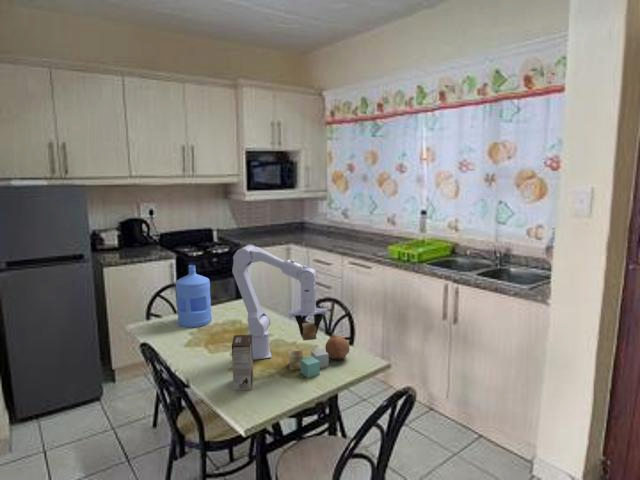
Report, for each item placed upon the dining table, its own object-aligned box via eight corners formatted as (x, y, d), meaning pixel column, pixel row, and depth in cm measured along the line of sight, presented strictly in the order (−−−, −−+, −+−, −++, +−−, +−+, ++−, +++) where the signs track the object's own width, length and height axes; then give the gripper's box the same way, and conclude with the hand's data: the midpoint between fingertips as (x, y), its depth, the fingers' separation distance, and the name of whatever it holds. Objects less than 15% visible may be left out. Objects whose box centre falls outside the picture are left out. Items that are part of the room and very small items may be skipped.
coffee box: (235, 377, 156) (233, 334, 153) (253, 377, 156) (252, 334, 154) (232, 390, 147) (230, 345, 144) (252, 389, 147) (250, 344, 145)
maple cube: (289, 369, 162) (289, 356, 161) (289, 363, 167) (289, 351, 166) (302, 369, 163) (302, 356, 162) (302, 363, 167) (302, 350, 167)
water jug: (186, 316, 220) (183, 261, 216) (216, 317, 218) (214, 262, 213) (172, 327, 205) (168, 269, 200) (204, 329, 203) (201, 270, 198)
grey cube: (316, 368, 163) (316, 356, 162) (311, 363, 167) (311, 351, 166) (328, 366, 165) (328, 353, 164) (323, 361, 169) (323, 348, 168)
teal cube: (308, 378, 156) (307, 364, 155) (300, 372, 160) (300, 359, 159) (319, 374, 158) (319, 361, 157) (312, 369, 162) (312, 356, 162)
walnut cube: (303, 340, 166) (303, 327, 166) (301, 335, 171) (300, 323, 170) (316, 339, 168) (316, 326, 167) (313, 334, 172) (313, 322, 172)
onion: (330, 362, 175) (324, 337, 177) (353, 356, 174) (346, 331, 176) (327, 364, 165) (320, 337, 168) (351, 357, 165) (344, 331, 167)
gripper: (291, 304, 161) (291, 339, 164) (329, 301, 165) (329, 335, 167) (288, 298, 168) (288, 332, 170) (324, 295, 171) (324, 328, 174)
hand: (308, 333), depth 169 cm, fingers closed on walnut cube, 5 cm apart
